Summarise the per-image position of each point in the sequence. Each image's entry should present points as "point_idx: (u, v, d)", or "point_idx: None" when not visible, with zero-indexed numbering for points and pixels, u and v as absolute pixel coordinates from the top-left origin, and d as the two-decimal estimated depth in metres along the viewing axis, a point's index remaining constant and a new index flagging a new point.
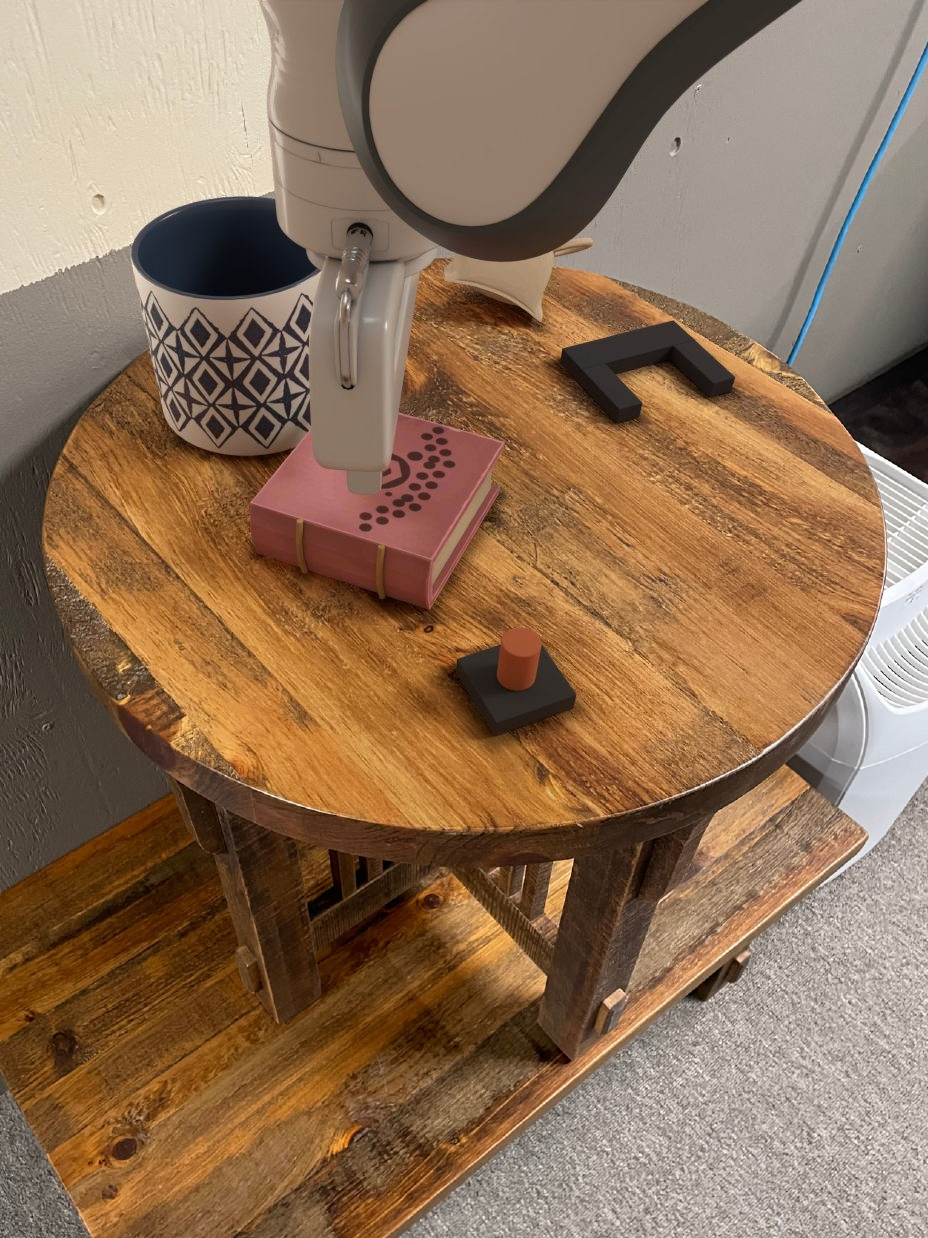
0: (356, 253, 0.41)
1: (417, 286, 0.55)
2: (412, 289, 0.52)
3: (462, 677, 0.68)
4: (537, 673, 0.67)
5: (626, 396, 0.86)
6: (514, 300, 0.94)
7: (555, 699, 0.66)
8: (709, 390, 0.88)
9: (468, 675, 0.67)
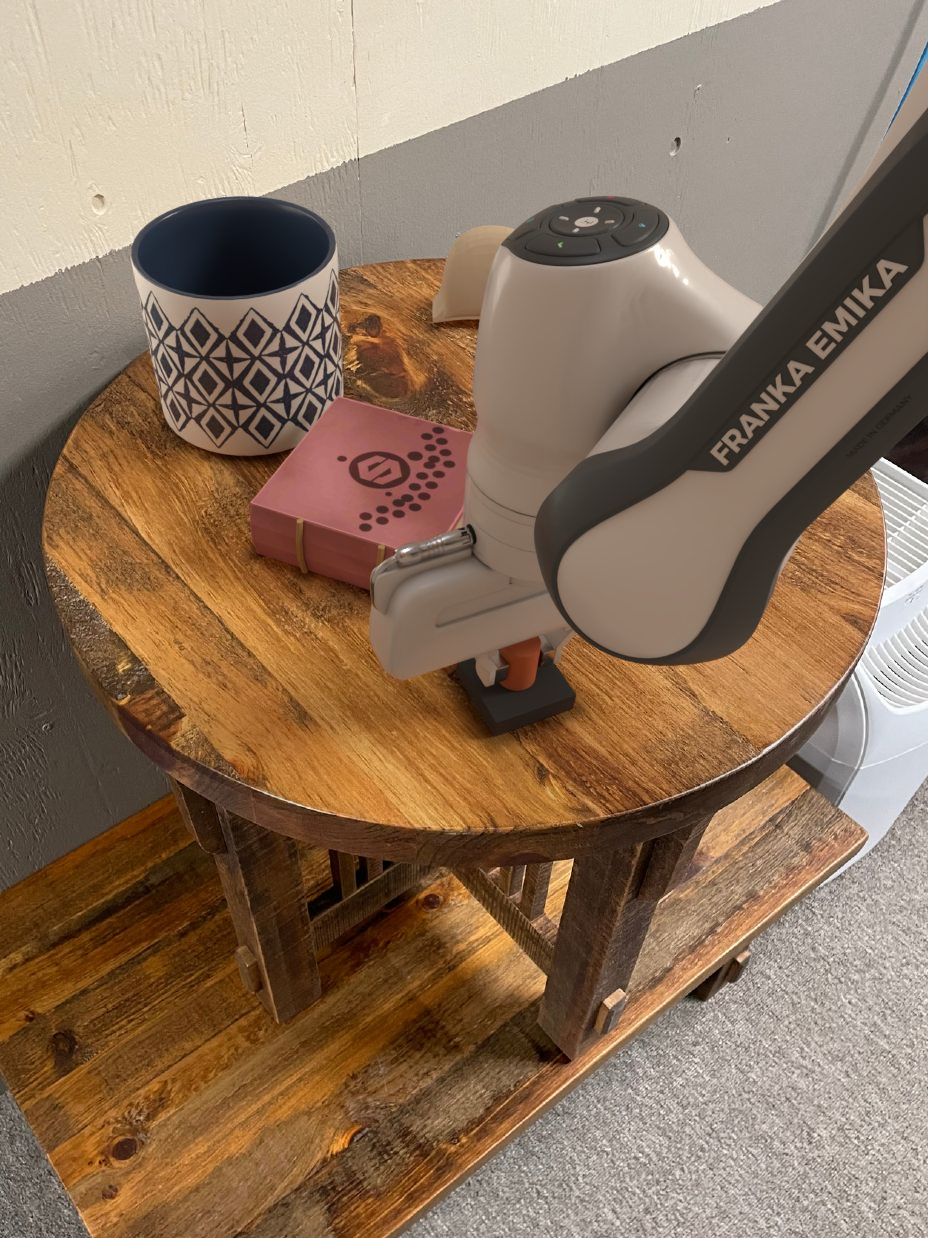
0: (435, 541, 0.54)
1: None
2: None
3: (462, 678, 0.68)
4: (537, 673, 0.67)
5: None
6: None
7: (554, 699, 0.66)
8: None
9: (468, 675, 0.67)
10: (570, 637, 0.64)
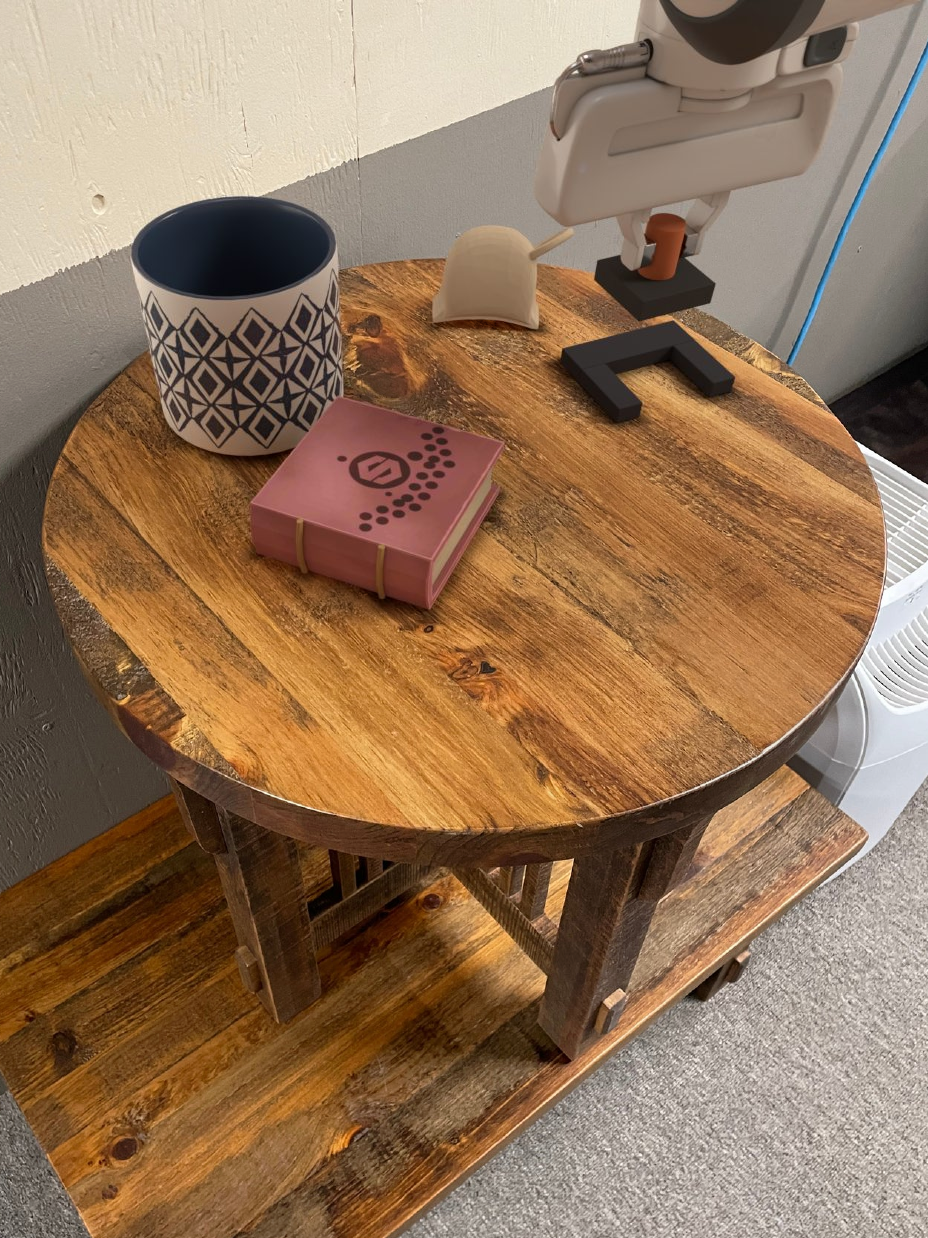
0: (616, 49, 0.57)
1: (768, 172, 0.65)
2: (734, 154, 0.63)
3: (603, 278, 0.71)
4: (676, 269, 0.70)
5: (626, 396, 0.86)
6: (505, 319, 0.95)
7: (696, 286, 0.69)
8: (709, 390, 0.88)
9: (610, 270, 0.70)
10: (714, 218, 0.68)
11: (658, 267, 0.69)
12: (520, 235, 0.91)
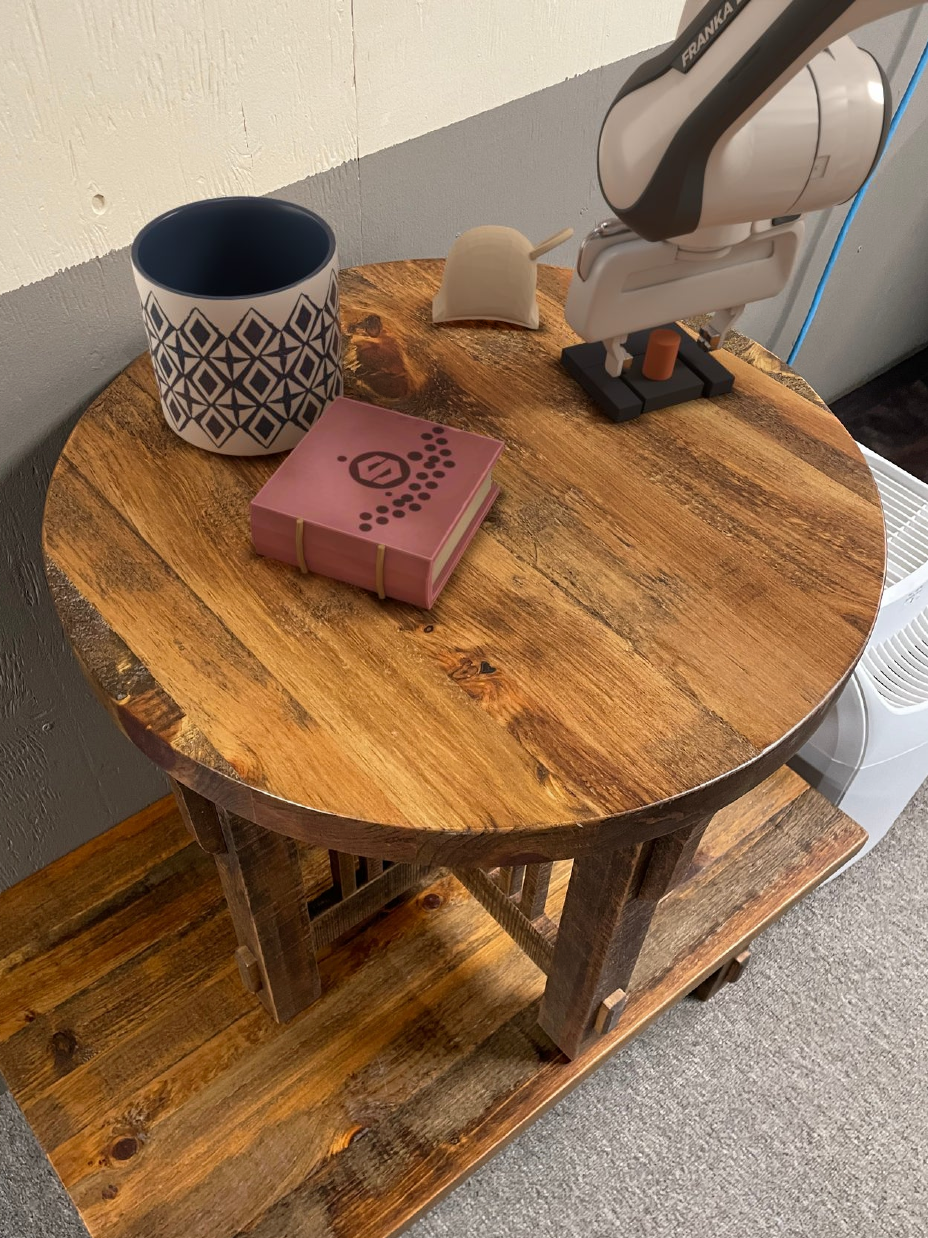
0: None
1: (748, 296, 0.84)
2: (720, 286, 0.81)
3: None
4: (672, 370, 0.89)
5: (626, 396, 0.86)
6: (505, 319, 0.95)
7: (688, 385, 0.87)
8: (709, 390, 0.88)
9: None
10: (732, 323, 0.86)
11: (658, 371, 0.87)
12: (520, 235, 0.91)
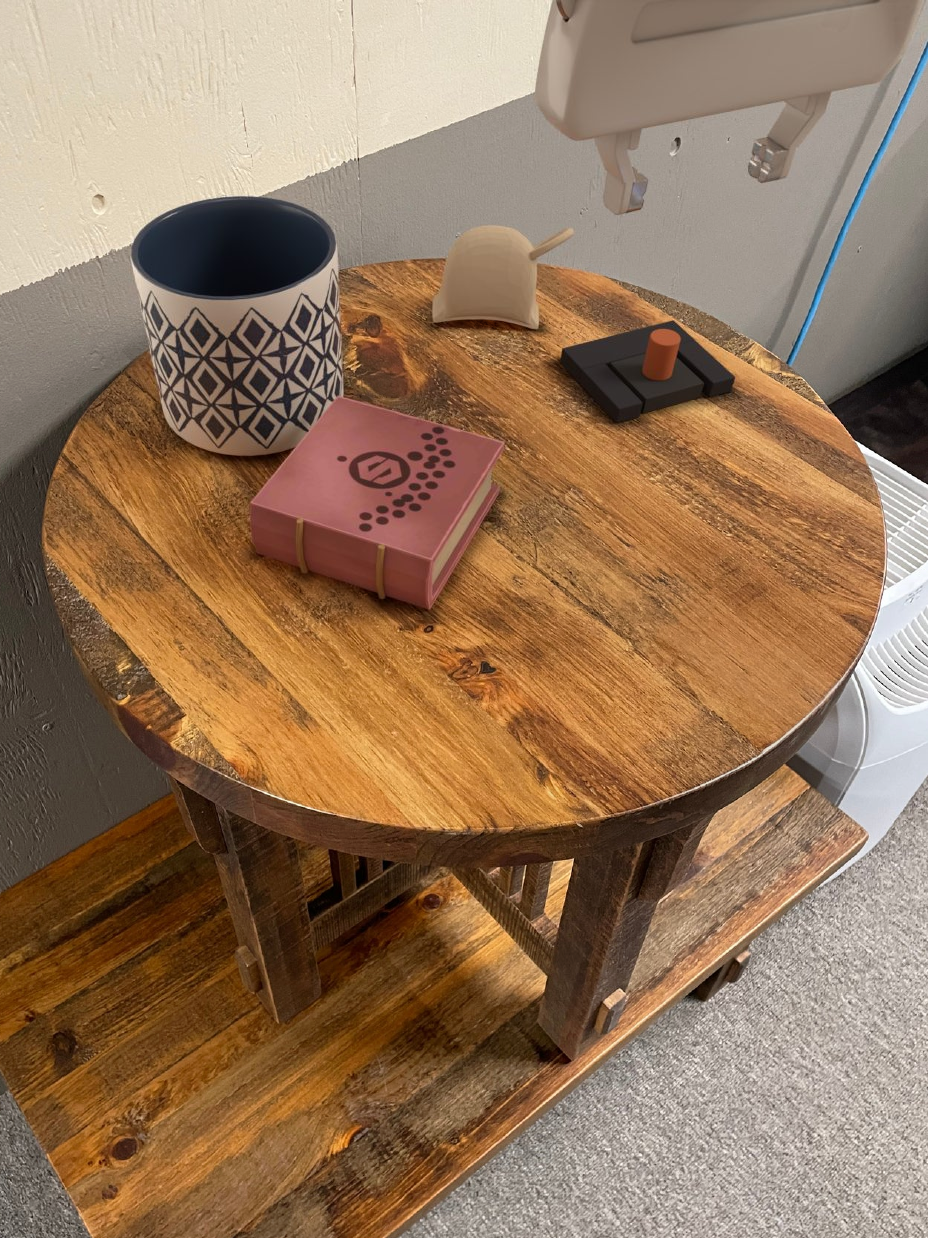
0: None
1: (837, 77, 0.51)
2: (794, 49, 0.49)
3: None
4: (672, 370, 0.89)
5: (626, 396, 0.86)
6: (505, 319, 0.95)
7: (688, 385, 0.87)
8: (709, 390, 0.88)
9: (620, 371, 0.89)
10: (808, 130, 0.54)
11: (658, 371, 0.87)
12: (520, 235, 0.91)
